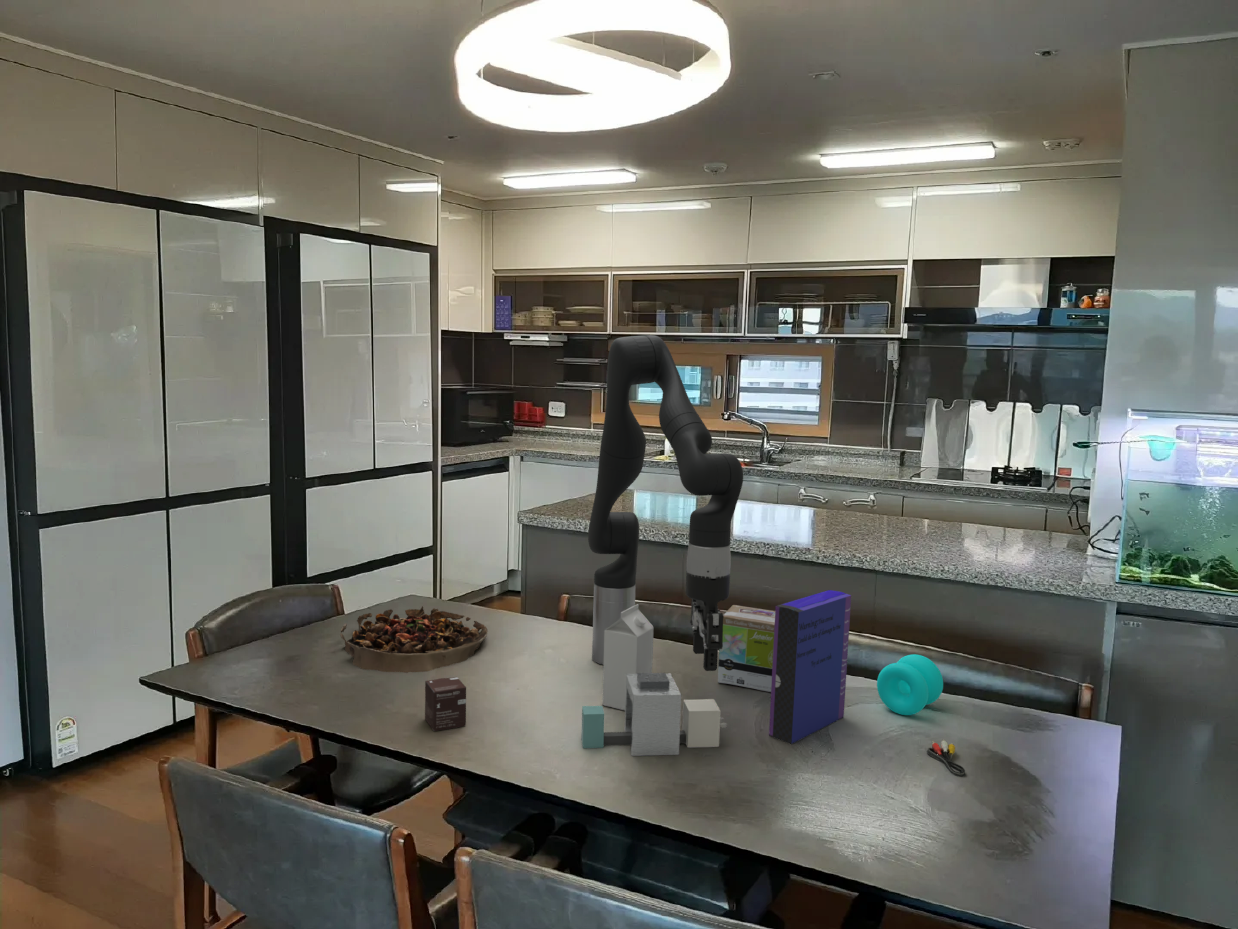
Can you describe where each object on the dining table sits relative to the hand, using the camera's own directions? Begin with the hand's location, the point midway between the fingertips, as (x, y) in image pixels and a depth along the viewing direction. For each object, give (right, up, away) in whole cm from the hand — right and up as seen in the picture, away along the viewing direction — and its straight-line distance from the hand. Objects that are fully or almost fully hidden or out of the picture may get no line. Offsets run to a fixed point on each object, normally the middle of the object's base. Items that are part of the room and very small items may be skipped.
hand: (704, 661), depth 143 cm
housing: (-9, -14, +1) cm, 17 cm away
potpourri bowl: (-62, -8, +47) cm, 78 cm away
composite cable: (+40, -17, -4) cm, 44 cm away
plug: (-9, -14, +1) cm, 17 cm away
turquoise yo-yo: (+42, -14, +19) cm, 48 cm away
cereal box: (+20, -14, +9) cm, 26 cm away
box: (-46, -13, +6) cm, 48 cm away
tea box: (+14, -12, +31) cm, 36 cm away
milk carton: (-13, -12, +17) cm, 25 cm away
